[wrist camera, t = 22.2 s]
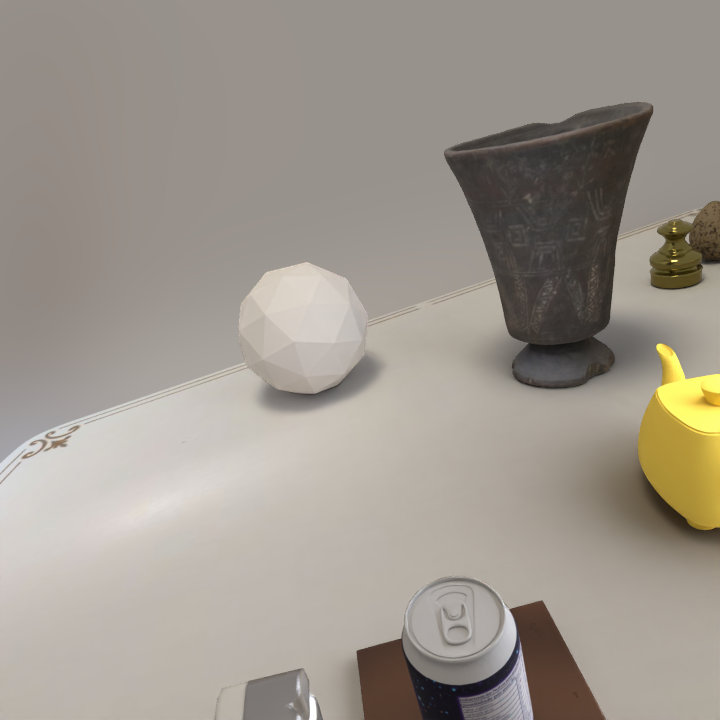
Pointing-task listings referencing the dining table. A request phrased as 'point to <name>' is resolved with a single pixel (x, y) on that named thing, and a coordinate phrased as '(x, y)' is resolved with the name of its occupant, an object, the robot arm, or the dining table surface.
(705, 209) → the decorative egg
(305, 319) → the ball
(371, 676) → the walnut board
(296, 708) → the robot arm
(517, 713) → the beverage can
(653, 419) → the teapot
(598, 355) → the vase
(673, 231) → the gold tiered tapered piece
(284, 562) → the dining table surface
